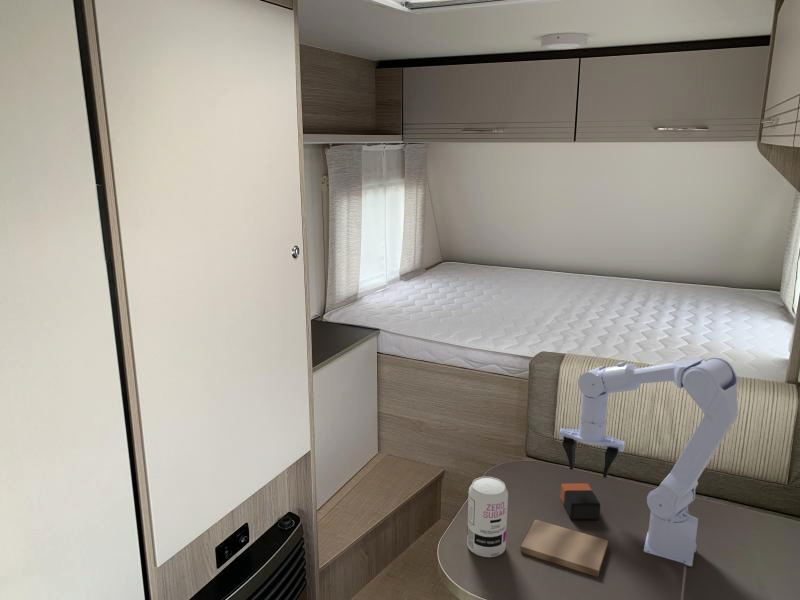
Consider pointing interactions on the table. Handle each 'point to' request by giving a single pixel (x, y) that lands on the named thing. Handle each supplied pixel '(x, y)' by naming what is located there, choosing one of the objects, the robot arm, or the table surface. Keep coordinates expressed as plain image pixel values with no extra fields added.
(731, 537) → the table surface
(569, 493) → the battery
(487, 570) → the table surface
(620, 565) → the table surface
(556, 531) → the wooden flat block
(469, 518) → the supplement can
